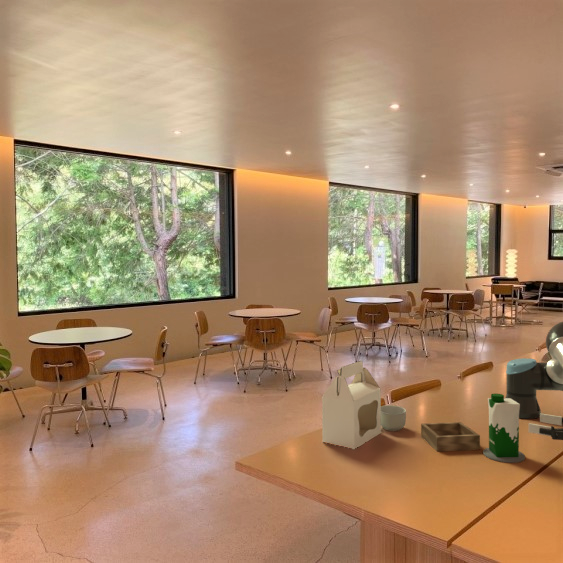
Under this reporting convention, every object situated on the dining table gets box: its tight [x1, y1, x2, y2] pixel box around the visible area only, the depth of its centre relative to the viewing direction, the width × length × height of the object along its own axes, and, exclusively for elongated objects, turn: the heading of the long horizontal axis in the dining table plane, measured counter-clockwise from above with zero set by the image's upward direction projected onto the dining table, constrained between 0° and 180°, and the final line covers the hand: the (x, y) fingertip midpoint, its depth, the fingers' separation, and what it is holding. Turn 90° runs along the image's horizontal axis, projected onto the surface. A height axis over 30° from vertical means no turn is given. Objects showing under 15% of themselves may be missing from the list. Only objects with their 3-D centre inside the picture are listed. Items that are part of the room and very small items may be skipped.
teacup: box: [381, 404, 407, 432], centre depth 205 cm, size 14×11×8 cm
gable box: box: [321, 360, 382, 450], centre depth 194 cm, size 22×13×28 cm, turn 144°
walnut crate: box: [420, 421, 481, 452], centre depth 188 cm, size 15×15×5 cm
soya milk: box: [487, 393, 520, 457], centre depth 175 cm, size 9×9×20 cm
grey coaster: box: [482, 447, 526, 464], centre depth 175 cm, size 13×13×1 cm
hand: (534, 422), depth 168 cm, fingers open, 13 cm apart
